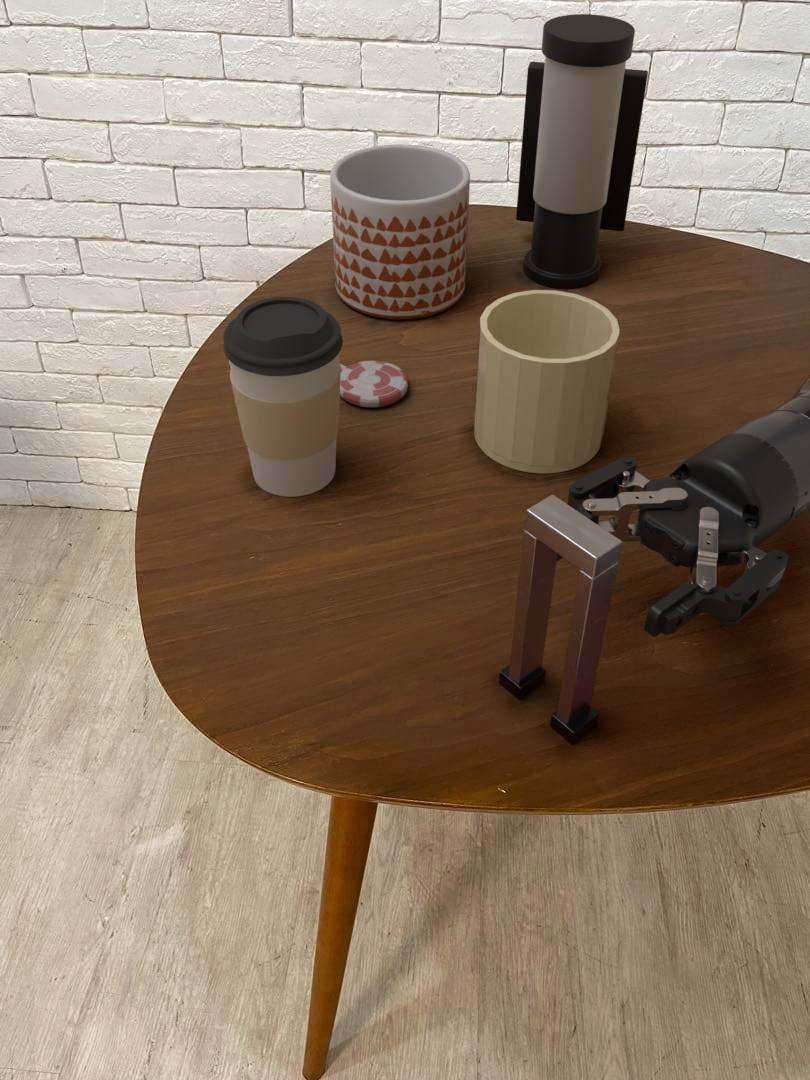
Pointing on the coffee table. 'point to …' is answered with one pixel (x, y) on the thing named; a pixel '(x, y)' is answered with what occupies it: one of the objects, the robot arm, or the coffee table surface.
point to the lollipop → (372, 383)
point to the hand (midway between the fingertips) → (597, 586)
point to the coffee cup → (287, 391)
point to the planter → (400, 230)
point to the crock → (544, 379)
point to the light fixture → (578, 145)
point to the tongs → (597, 558)
